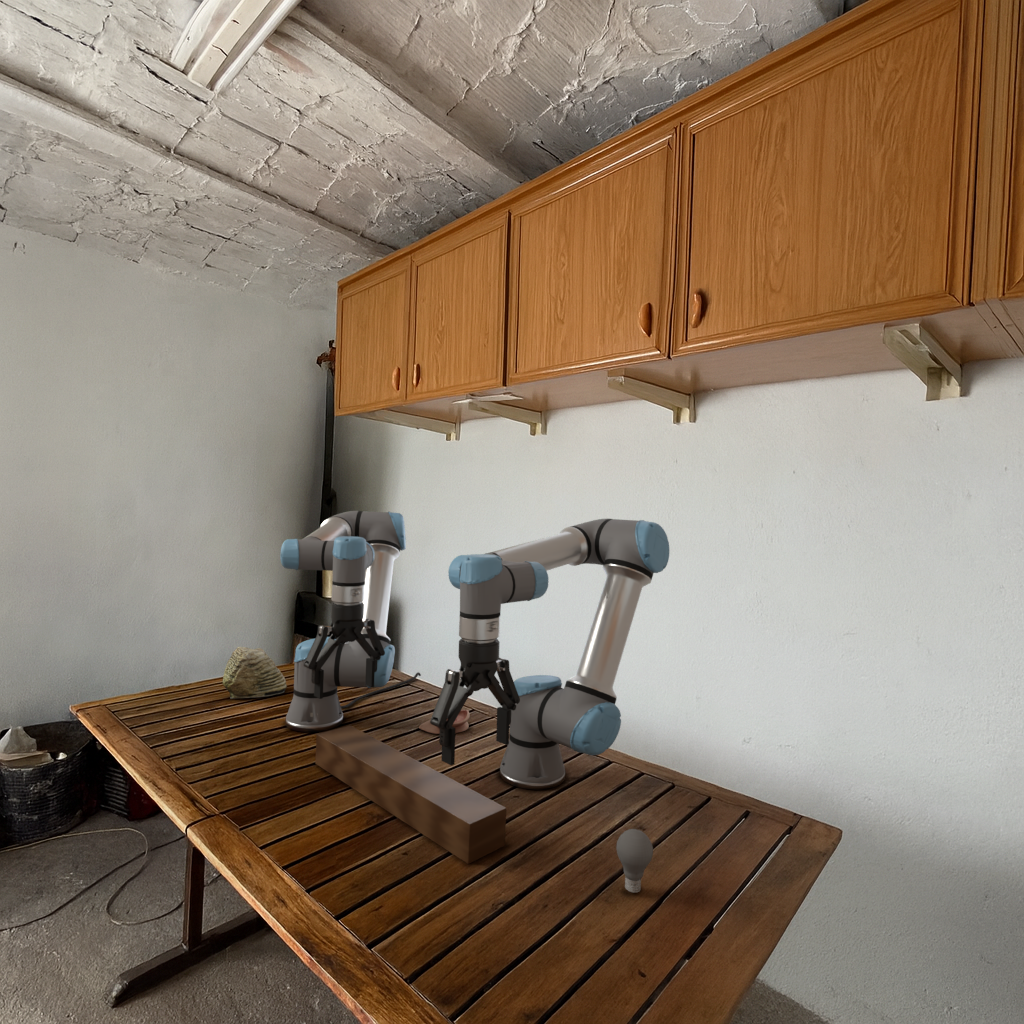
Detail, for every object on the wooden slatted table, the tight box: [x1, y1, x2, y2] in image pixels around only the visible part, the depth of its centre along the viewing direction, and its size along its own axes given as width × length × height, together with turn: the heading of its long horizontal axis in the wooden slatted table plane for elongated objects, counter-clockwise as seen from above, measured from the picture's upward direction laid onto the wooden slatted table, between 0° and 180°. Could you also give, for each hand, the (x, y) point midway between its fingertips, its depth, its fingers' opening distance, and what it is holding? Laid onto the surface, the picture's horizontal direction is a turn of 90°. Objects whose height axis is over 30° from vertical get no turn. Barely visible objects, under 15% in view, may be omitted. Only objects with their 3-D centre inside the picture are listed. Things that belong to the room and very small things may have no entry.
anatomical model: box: [418, 709, 471, 735], centre depth 177 cm, size 13×4×12 cm
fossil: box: [222, 646, 288, 699], centre depth 198 cm, size 9×18×15 cm, turn 132°
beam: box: [315, 725, 507, 865], centre depth 134 cm, size 55×9×7 cm, turn 46°
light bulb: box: [615, 828, 654, 894], centre depth 106 cm, size 6×6×10 cm
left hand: (344, 691), depth 150 cm, fingers open, 13 cm apart
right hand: (476, 752), depth 118 cm, fingers open, 13 cm apart
